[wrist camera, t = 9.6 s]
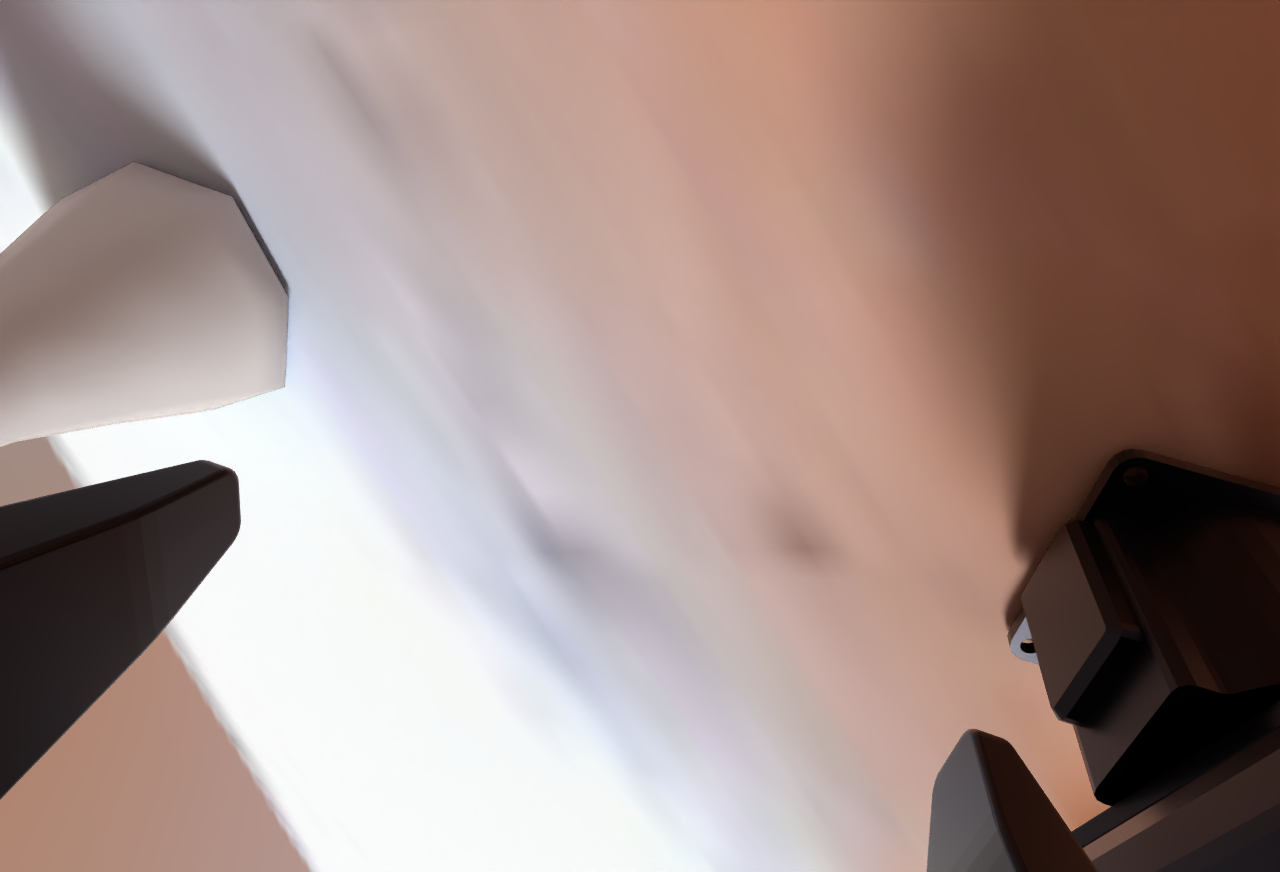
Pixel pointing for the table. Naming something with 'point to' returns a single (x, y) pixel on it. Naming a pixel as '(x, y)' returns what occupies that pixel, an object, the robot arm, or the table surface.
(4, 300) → the flask
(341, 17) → the table surface
